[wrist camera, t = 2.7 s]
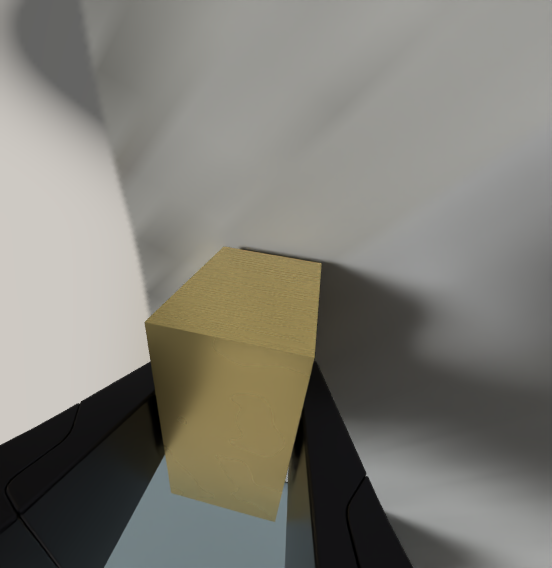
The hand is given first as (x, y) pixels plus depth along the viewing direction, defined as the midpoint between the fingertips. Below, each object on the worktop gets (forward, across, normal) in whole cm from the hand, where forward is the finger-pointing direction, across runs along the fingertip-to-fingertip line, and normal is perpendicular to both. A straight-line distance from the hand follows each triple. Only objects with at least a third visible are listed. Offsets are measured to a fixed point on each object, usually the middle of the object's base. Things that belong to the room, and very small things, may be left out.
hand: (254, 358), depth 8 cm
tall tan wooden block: (+1, 0, 0) cm, 1 cm away
